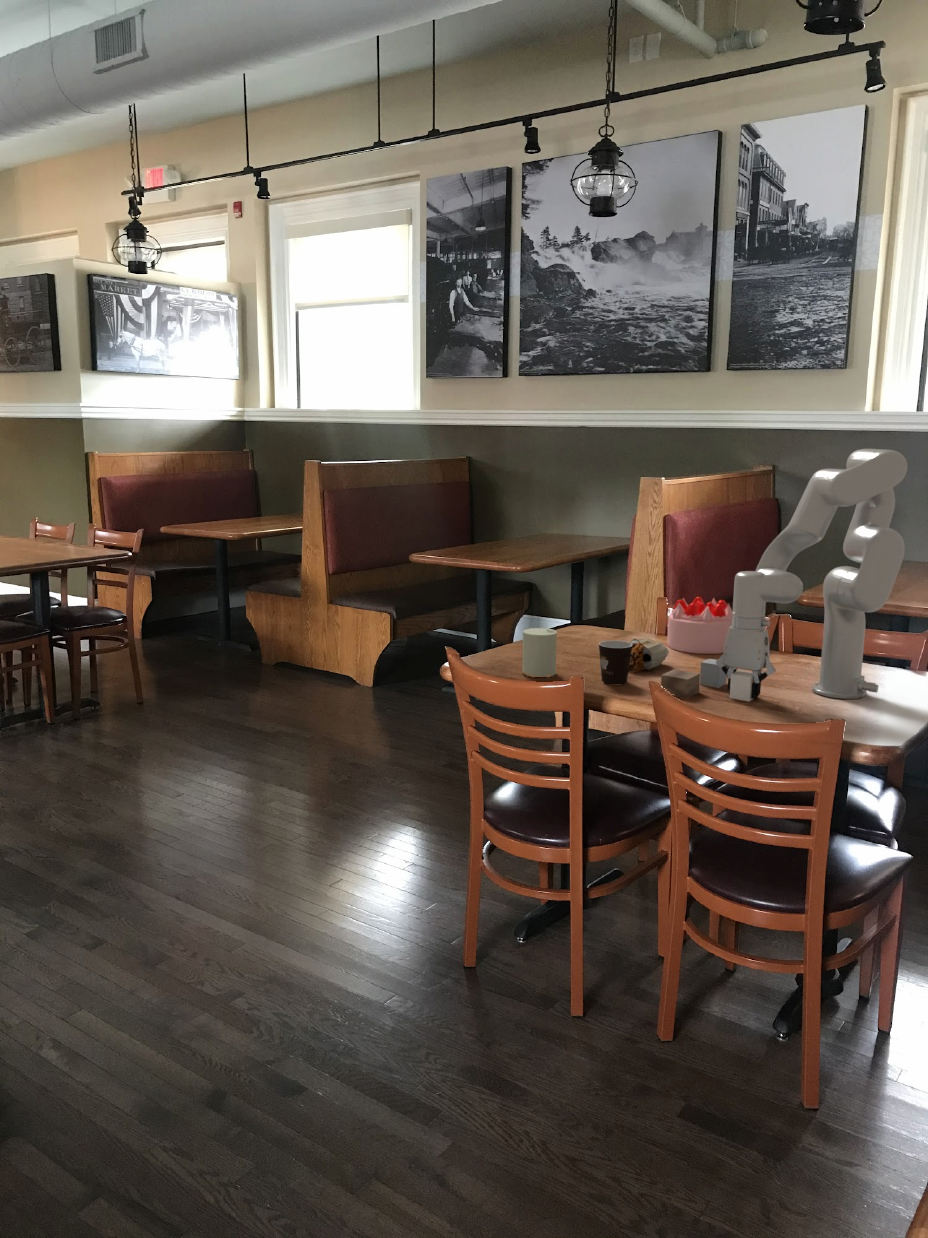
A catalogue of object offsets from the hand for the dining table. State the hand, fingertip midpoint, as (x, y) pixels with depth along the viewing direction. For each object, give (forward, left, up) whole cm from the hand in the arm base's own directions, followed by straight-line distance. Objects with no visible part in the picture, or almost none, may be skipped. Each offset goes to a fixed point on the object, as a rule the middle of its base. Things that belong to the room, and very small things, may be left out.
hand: (743, 694), depth 237 cm
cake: (+32, -45, -1) cm, 55 cm away
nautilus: (+34, -10, -1) cm, 36 cm away
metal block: (+14, +6, -1) cm, 15 cm away
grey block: (+11, -7, -1) cm, 13 cm away
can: (+52, +12, -1) cm, 53 cm away
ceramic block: (0, 0, -1) cm, 1 cm away
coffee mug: (+31, +8, -1) cm, 32 cm away
